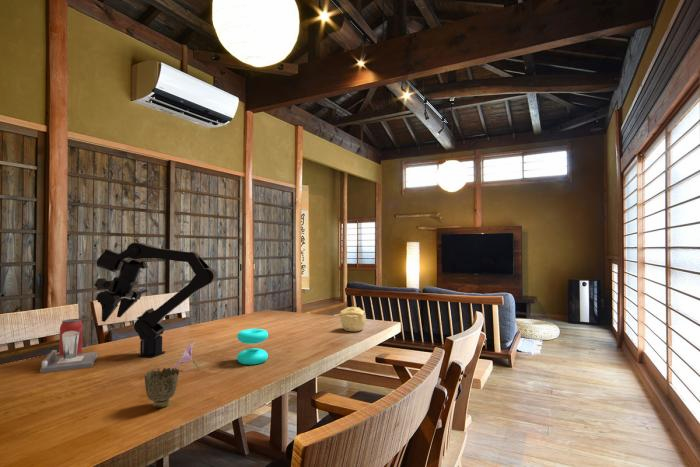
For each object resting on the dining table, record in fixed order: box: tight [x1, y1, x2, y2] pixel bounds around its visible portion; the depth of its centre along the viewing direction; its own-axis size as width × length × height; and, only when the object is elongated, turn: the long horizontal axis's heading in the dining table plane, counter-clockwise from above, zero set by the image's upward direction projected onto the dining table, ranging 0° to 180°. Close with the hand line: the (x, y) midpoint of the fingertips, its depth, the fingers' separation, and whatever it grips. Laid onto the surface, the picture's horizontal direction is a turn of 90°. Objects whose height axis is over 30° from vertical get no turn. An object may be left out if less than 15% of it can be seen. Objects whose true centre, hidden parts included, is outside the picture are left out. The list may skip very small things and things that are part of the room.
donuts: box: [236, 328, 269, 366], centre depth 131 cm, size 10×10×10 cm
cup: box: [143, 367, 180, 409], centre depth 94 cm, size 8×7×8 cm
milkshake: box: [62, 328, 82, 361], centre depth 127 cm, size 4×5×10 cm
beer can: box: [58, 318, 84, 356], centre depth 138 cm, size 7×7×12 cm
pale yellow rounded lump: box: [339, 306, 367, 332], centre depth 180 cm, size 12×12×11 cm
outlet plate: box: [39, 349, 98, 374], centre depth 127 cm, size 13×15×3 cm
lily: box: [170, 340, 200, 371], centre depth 121 cm, size 12×12×10 cm
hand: (111, 319), depth 137 cm, fingers open, 9 cm apart
